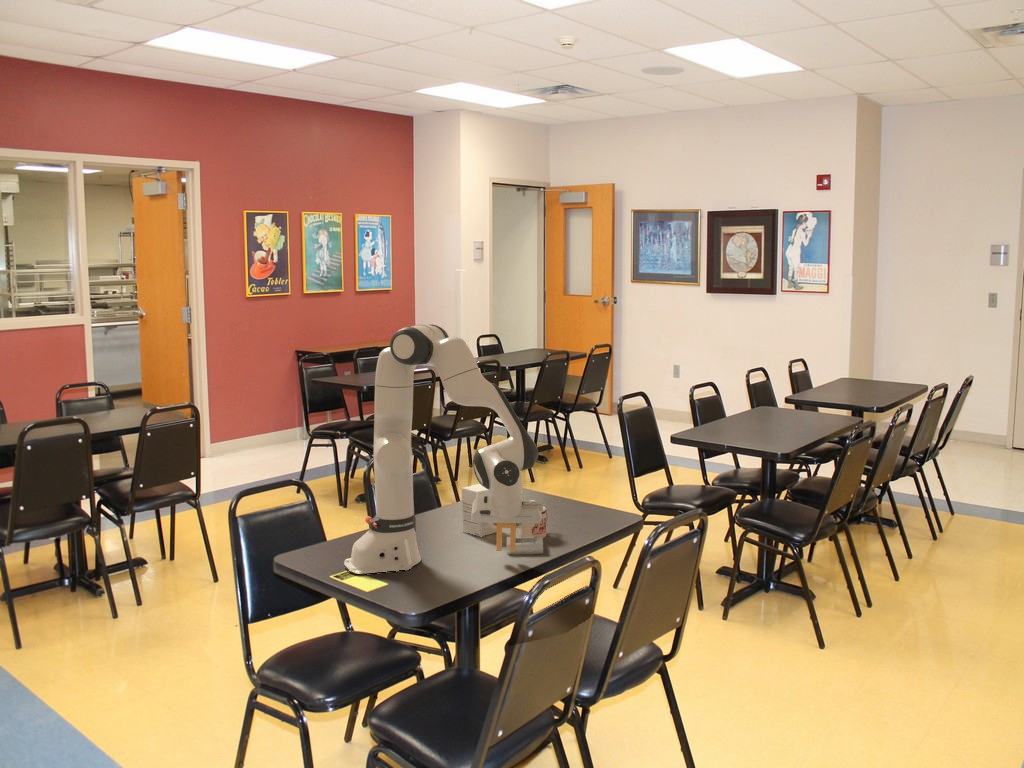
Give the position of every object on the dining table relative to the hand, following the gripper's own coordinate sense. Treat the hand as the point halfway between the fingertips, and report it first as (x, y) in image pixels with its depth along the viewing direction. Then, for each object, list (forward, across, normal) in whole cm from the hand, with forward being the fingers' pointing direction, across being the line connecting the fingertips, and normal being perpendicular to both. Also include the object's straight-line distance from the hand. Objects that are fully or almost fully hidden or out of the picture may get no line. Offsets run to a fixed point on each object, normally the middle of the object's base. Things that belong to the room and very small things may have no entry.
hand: (506, 525), depth 258 cm
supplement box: (+30, +8, -14) cm, 34 cm away
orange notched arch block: (+4, 0, +5) cm, 7 cm away
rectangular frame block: (+15, -6, 0) cm, 16 cm away
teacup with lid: (+26, -9, -11) cm, 29 cm away
